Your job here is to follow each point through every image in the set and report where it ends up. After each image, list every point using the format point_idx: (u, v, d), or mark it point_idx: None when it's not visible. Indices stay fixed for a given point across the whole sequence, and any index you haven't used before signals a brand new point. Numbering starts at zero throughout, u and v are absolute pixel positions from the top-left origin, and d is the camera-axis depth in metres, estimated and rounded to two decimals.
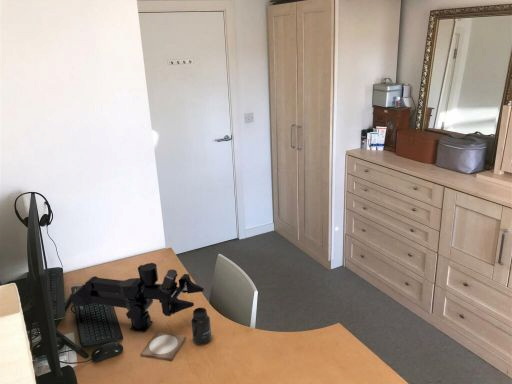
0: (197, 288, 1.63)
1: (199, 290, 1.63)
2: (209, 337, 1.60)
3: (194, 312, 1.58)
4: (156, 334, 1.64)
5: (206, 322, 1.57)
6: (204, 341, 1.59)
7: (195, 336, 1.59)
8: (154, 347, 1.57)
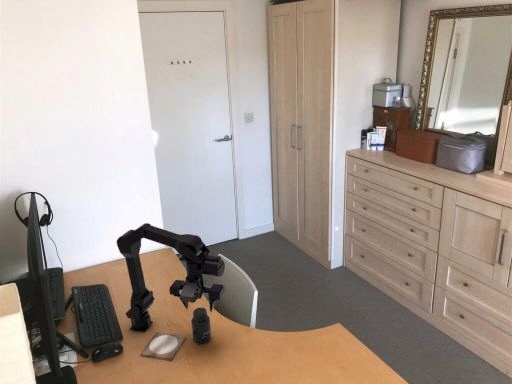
0: None
1: None
2: (209, 337, 1.60)
3: (194, 312, 1.58)
4: (156, 334, 1.64)
5: (206, 322, 1.57)
6: (204, 341, 1.59)
7: (195, 337, 1.59)
8: (154, 347, 1.57)
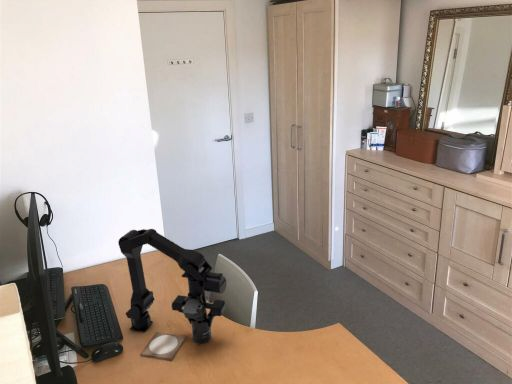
0: None
1: None
2: (209, 337, 1.60)
3: None
4: (156, 334, 1.64)
5: (206, 322, 1.57)
6: (204, 341, 1.59)
7: (195, 336, 1.59)
8: (154, 347, 1.57)
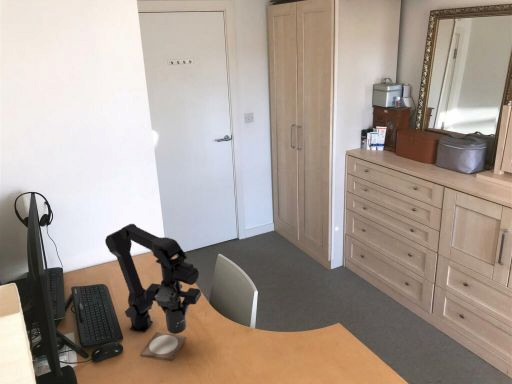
0: None
1: None
2: (183, 326, 1.56)
3: None
4: (156, 334, 1.64)
5: (180, 311, 1.53)
6: (178, 330, 1.55)
7: (169, 326, 1.55)
8: (154, 347, 1.57)
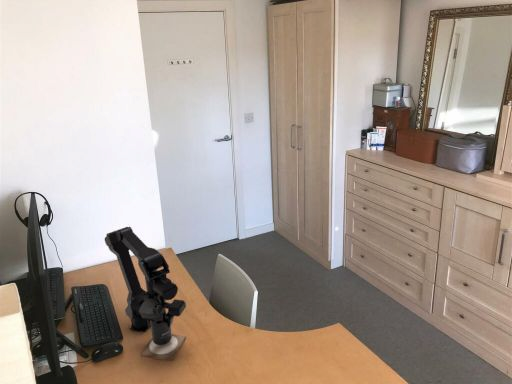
0: None
1: None
2: (169, 338, 1.56)
3: None
4: None
5: (165, 322, 1.53)
6: (163, 342, 1.55)
7: (154, 337, 1.54)
8: (154, 347, 1.57)
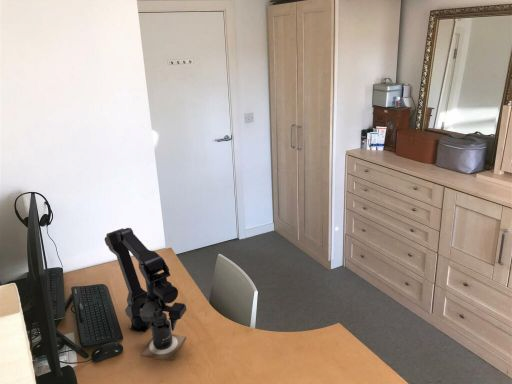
0: None
1: None
2: (169, 342, 1.57)
3: None
4: None
5: (165, 327, 1.54)
6: (164, 346, 1.55)
7: (155, 342, 1.55)
8: (154, 347, 1.57)
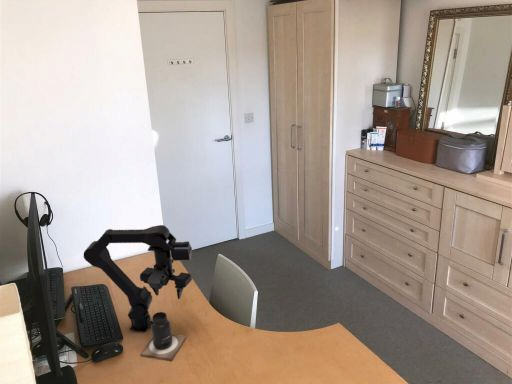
0: None
1: None
2: (169, 342, 1.57)
3: (153, 317, 1.54)
4: None
5: (165, 327, 1.54)
6: (164, 346, 1.55)
7: (155, 342, 1.55)
8: (154, 347, 1.57)
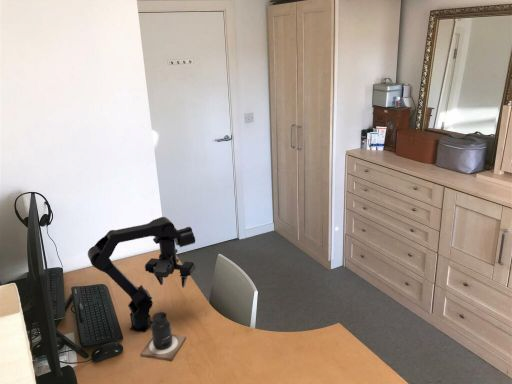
0: None
1: None
2: (169, 342, 1.57)
3: (153, 317, 1.54)
4: None
5: (165, 327, 1.54)
6: (164, 346, 1.55)
7: (155, 342, 1.55)
8: (154, 347, 1.57)
